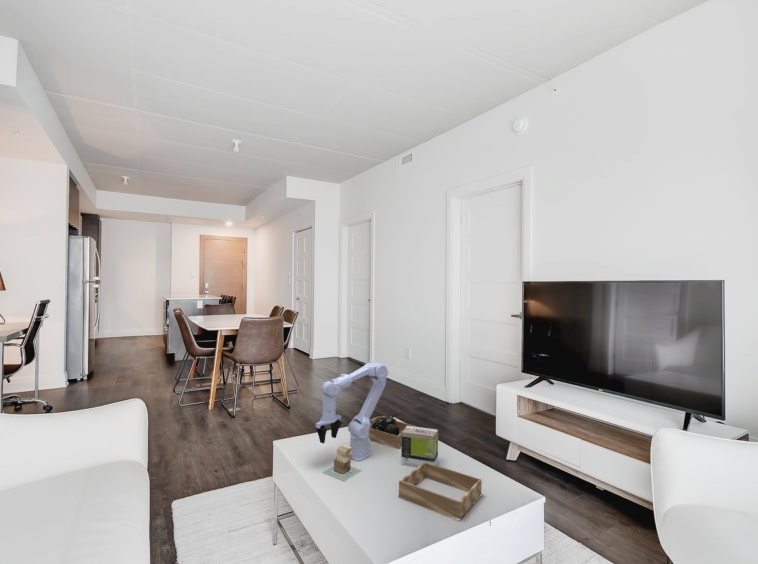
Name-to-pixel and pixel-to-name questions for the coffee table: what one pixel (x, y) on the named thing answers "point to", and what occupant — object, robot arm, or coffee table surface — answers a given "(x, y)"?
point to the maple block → (344, 454)
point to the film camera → (386, 425)
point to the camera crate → (387, 434)
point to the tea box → (419, 446)
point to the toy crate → (436, 500)
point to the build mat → (342, 477)
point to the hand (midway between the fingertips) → (328, 440)
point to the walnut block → (341, 467)
